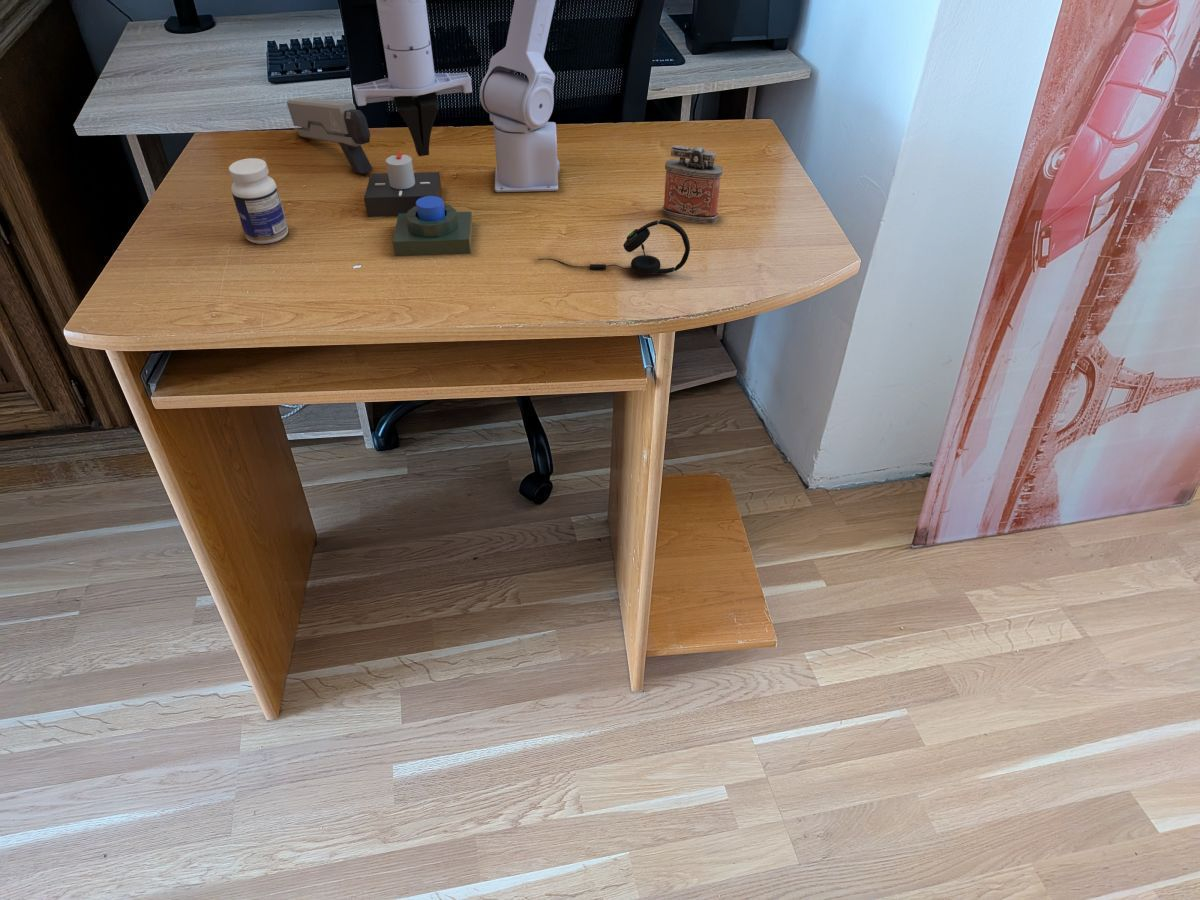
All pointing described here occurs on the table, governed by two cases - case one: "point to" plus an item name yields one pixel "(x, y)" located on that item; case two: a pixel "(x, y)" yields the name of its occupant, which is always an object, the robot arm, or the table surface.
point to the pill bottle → (257, 201)
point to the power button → (430, 208)
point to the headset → (644, 262)
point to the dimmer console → (398, 193)
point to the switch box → (433, 234)
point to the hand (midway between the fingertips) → (422, 152)
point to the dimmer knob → (400, 171)
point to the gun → (333, 127)
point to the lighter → (692, 185)
